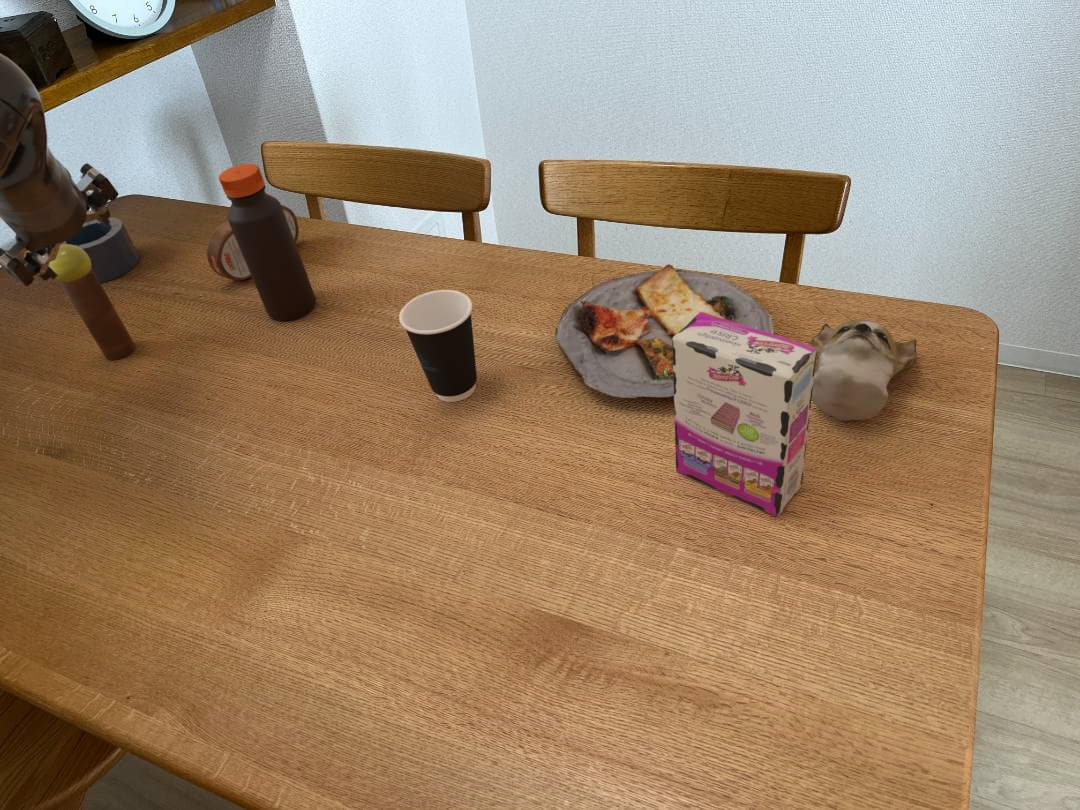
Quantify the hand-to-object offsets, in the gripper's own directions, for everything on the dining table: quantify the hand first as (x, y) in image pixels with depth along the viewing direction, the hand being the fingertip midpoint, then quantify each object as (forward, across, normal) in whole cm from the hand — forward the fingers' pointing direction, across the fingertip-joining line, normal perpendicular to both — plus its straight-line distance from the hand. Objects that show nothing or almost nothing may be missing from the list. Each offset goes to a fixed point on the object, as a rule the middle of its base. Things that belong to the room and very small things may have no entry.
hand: (74, 245), depth 94 cm
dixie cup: (-12, -12, +45) cm, 48 cm away
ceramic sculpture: (-32, -33, +76) cm, 89 cm away
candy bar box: (-34, -16, +70) cm, 79 cm away
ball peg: (+16, +6, +8) cm, 19 cm away
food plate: (-18, -30, +60) cm, 69 cm away
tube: (+36, -4, -8) cm, 37 cm away
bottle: (+11, -12, +22) cm, 27 cm away
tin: (+22, -17, +13) cm, 31 cm away
